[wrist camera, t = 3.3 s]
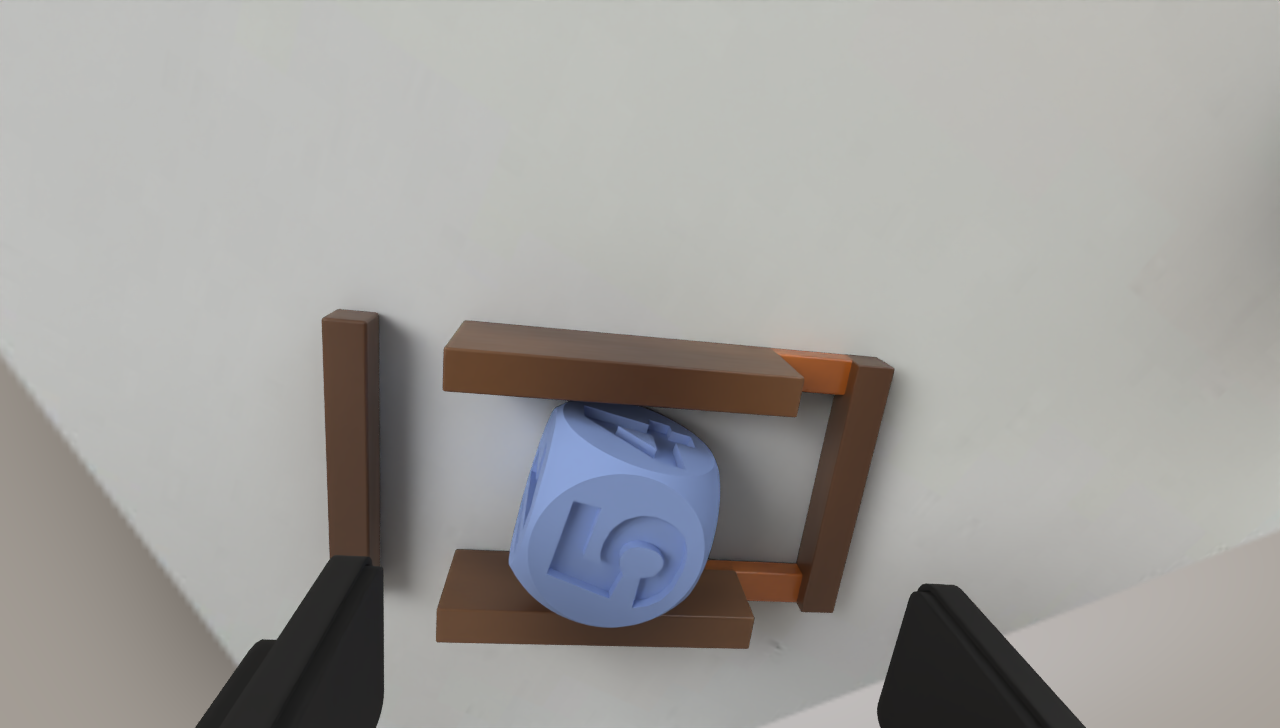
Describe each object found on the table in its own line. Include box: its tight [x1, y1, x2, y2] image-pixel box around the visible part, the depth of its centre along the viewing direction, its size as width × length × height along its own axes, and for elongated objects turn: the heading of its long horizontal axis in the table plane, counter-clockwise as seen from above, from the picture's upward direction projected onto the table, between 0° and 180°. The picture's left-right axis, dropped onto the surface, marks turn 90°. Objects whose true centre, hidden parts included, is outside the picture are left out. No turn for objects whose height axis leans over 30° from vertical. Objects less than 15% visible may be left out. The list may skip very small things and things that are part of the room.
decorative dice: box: [509, 401, 720, 628], centre depth 15 cm, size 4×4×4 cm
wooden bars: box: [322, 309, 894, 649], centre depth 16 cm, size 14×8×2 cm, turn 83°
